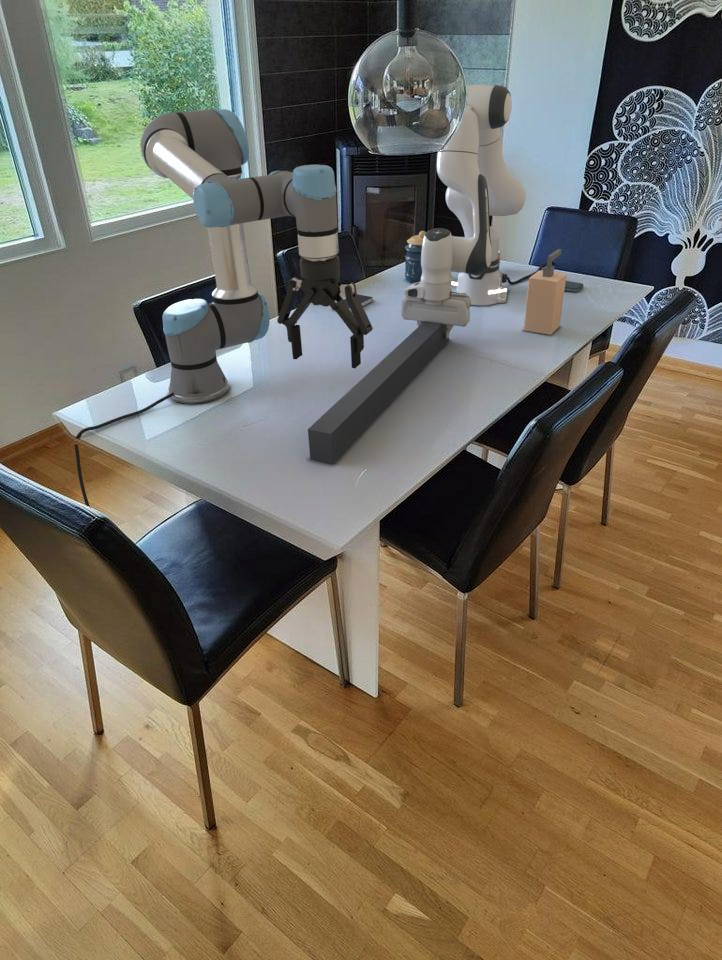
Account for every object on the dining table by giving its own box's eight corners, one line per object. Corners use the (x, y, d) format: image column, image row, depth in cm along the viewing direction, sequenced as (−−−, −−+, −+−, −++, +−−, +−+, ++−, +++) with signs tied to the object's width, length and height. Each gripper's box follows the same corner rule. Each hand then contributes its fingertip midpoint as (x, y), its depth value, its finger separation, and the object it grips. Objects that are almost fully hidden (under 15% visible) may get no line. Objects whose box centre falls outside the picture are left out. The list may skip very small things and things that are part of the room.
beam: (333, 464, 144) (331, 433, 140) (310, 459, 146) (307, 429, 142) (449, 340, 202) (449, 316, 198) (431, 338, 204) (432, 314, 200)
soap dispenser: (550, 335, 203) (559, 261, 191) (523, 330, 207) (530, 257, 195) (564, 322, 212) (573, 250, 200) (538, 317, 216) (545, 247, 204)
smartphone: (373, 297, 235) (349, 309, 225) (373, 300, 236) (349, 313, 226) (355, 294, 239) (330, 305, 229) (356, 297, 240) (331, 309, 229)
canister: (411, 285, 249) (411, 236, 239) (400, 276, 259) (400, 228, 250) (444, 281, 252) (445, 232, 242) (431, 272, 262) (432, 225, 253)
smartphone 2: (577, 289, 235) (536, 281, 242) (576, 293, 236) (535, 286, 243) (584, 283, 240) (544, 276, 247) (583, 287, 241) (543, 280, 248)
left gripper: (387, 255, 125) (389, 362, 136) (272, 246, 134) (283, 347, 145) (371, 266, 119) (374, 376, 130) (252, 256, 128) (265, 359, 140)
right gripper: (474, 290, 189) (471, 337, 197) (407, 283, 197) (407, 328, 204) (467, 297, 184) (465, 344, 192) (399, 289, 192) (399, 335, 200)
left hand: (326, 361), depth 138 cm, fingers open, 13 cm apart
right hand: (434, 336), depth 198 cm, fingers closed on beam, 5 cm apart
